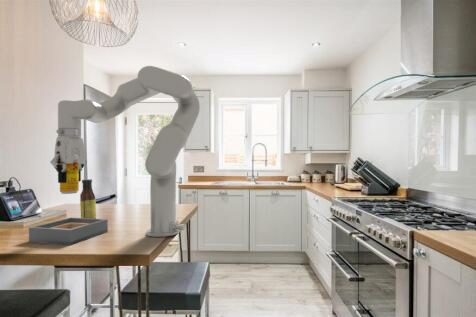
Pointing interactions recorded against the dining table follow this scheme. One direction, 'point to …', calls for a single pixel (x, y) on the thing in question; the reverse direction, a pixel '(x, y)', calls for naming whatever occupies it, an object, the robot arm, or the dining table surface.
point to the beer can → (71, 177)
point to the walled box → (68, 230)
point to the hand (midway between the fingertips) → (69, 181)
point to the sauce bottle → (87, 200)
